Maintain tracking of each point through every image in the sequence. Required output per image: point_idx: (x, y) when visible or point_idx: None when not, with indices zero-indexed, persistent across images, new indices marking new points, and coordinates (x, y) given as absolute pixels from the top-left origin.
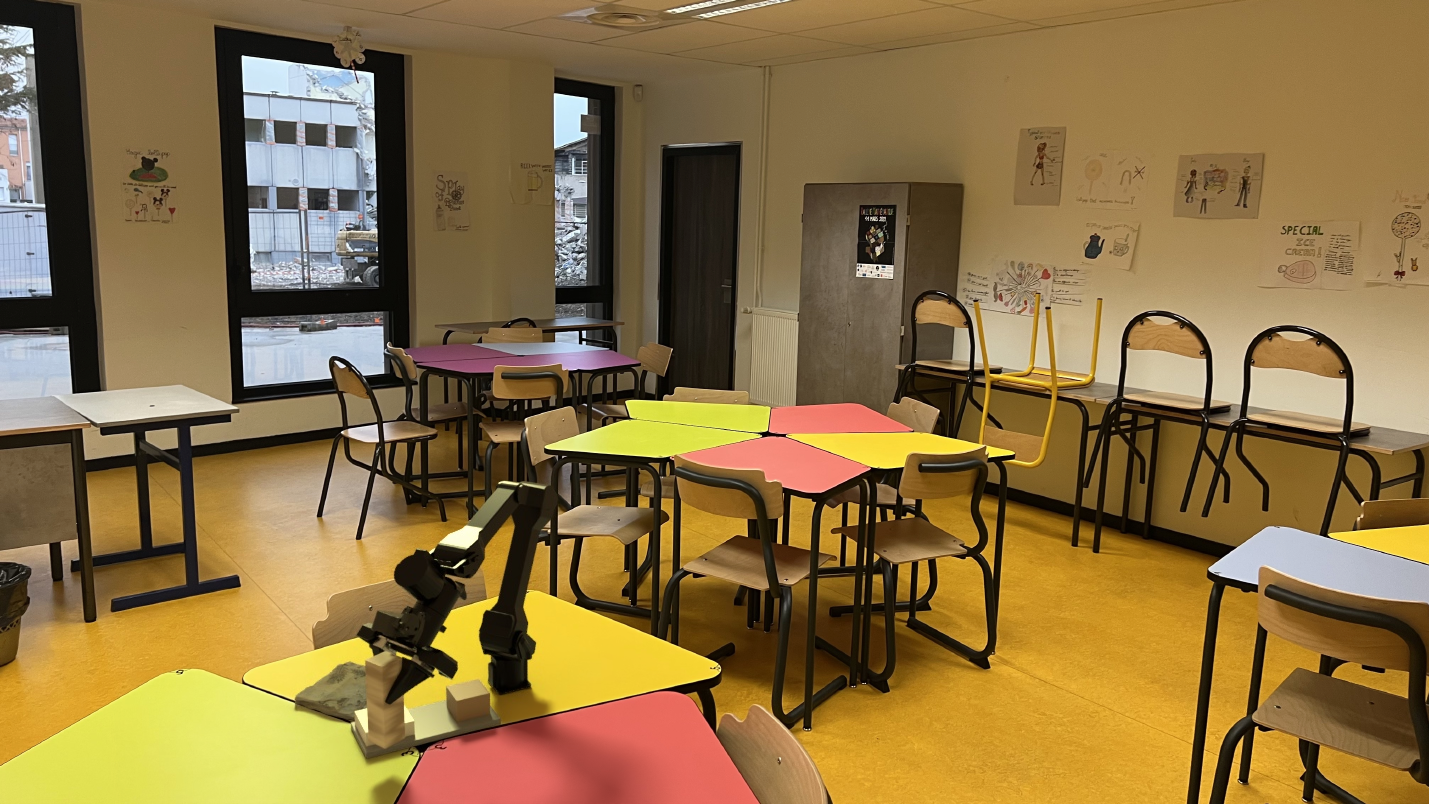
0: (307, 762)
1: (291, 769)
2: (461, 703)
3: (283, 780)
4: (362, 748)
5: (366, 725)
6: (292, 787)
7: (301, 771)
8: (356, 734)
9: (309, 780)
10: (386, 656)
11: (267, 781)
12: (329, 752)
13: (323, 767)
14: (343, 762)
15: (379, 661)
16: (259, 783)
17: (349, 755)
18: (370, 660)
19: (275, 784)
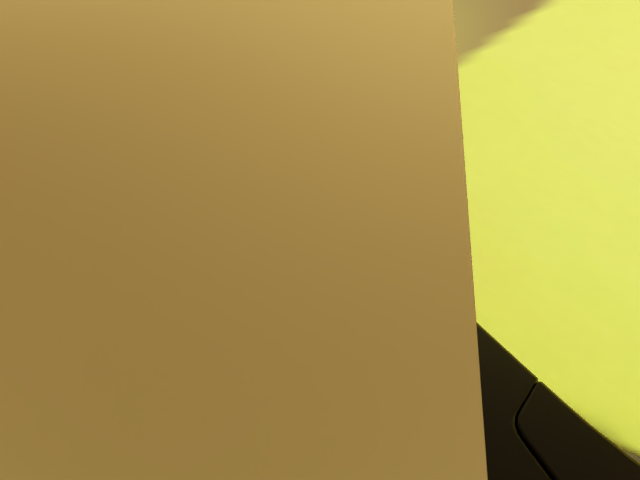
0: (602, 206)
1: (600, 143)
2: None
3: (551, 88)
4: None
5: None
6: (483, 83)
7: (557, 157)
8: (632, 454)
9: (477, 141)
10: None
11: (588, 53)
12: (607, 305)
13: (518, 222)
14: (489, 292)
15: (16, 137)
16: (597, 32)
17: (519, 341)
18: (294, 15)
19: (548, 59)
